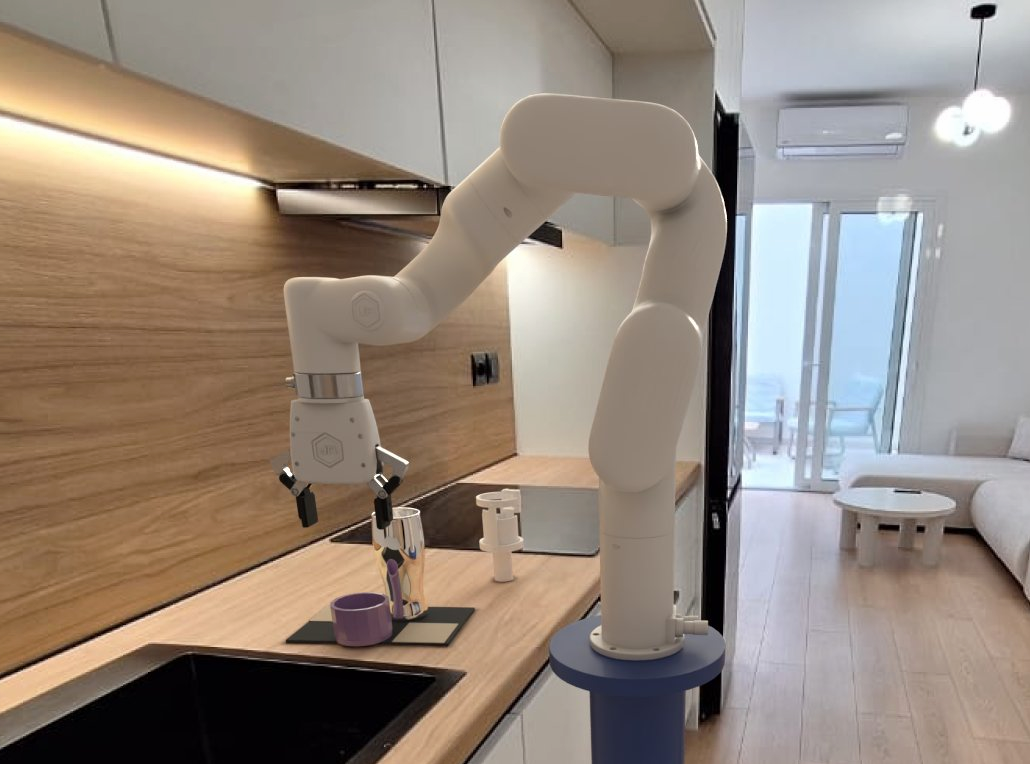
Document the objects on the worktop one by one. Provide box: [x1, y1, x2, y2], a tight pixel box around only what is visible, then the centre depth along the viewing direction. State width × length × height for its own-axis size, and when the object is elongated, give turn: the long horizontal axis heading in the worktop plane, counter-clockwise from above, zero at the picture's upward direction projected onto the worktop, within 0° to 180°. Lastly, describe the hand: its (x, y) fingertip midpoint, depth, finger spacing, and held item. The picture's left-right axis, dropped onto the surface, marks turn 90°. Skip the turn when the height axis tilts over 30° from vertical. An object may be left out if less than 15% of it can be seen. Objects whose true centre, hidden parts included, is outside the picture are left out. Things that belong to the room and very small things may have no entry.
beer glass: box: [370, 507, 429, 621], centre depth 114 cm, size 7×7×15 cm
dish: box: [329, 591, 393, 647], centre depth 108 cm, size 7×7×5 cm
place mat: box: [285, 603, 476, 647], centre depth 114 cm, size 22×14×1 cm, turn 87°
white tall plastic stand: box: [475, 488, 525, 583], centre depth 131 cm, size 7×7×15 cm
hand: (347, 526), depth 104 cm, fingers open, 9 cm apart
